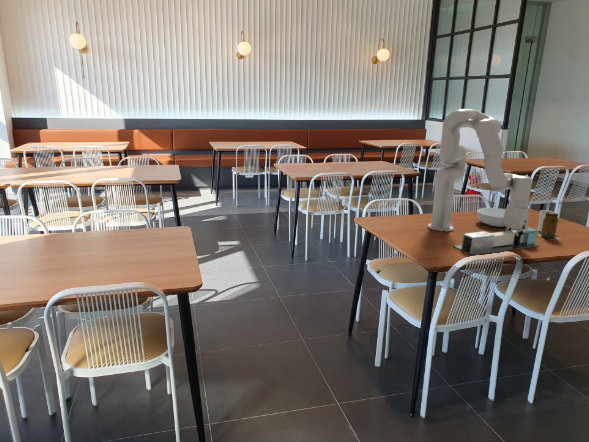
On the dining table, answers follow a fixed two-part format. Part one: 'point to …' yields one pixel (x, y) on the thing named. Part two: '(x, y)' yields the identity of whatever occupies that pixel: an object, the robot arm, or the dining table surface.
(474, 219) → the dining table surface
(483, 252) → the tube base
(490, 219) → the serving bowl
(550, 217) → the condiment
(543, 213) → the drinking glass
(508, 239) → the white rectangular stick
